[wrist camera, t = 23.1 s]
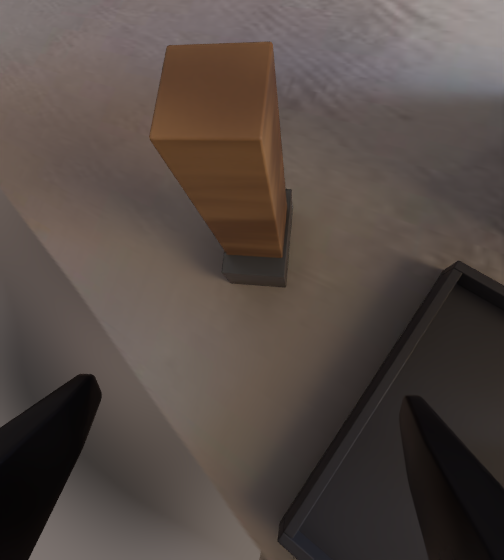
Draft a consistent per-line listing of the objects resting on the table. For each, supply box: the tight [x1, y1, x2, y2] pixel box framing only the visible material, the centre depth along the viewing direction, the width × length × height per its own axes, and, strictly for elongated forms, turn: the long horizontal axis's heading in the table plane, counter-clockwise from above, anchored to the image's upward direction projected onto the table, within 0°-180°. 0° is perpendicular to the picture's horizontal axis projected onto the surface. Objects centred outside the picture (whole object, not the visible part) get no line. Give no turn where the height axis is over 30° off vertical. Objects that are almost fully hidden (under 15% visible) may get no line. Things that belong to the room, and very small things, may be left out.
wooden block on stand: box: [149, 42, 293, 287], centre depth 18 cm, size 6×4×15 cm, turn 174°
